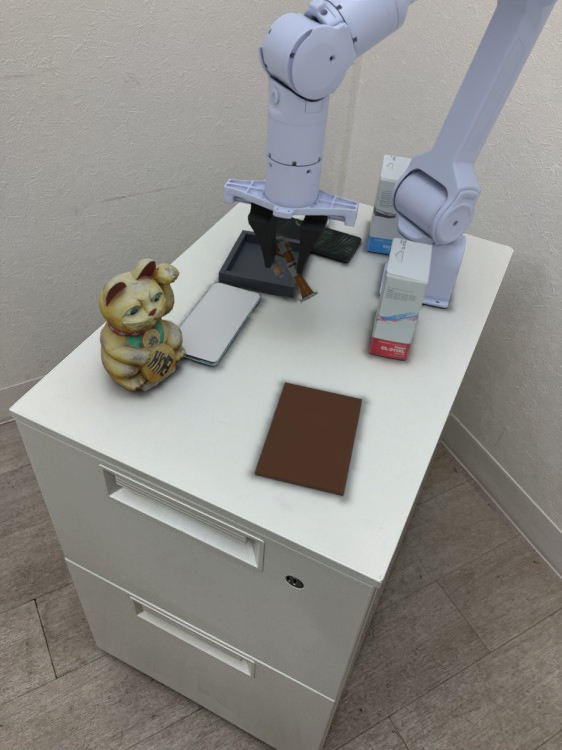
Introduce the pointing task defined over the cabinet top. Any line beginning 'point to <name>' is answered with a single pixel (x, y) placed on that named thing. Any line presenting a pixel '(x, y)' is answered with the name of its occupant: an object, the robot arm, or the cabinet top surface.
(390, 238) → the ink box
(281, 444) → the desk pad
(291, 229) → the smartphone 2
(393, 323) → the ink box
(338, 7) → the robot arm
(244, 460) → the cabinet top surface
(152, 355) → the decorative figurine
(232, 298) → the smartphone
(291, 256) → the brown grey jointed column
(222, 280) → the tray
